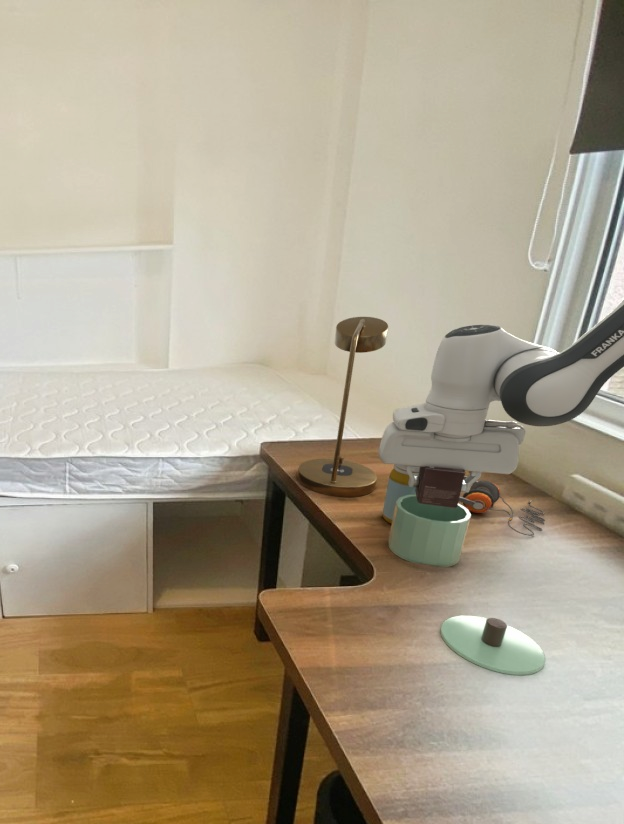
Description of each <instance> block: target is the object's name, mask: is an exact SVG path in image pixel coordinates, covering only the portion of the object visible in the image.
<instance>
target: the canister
mask: <svg viewBox="0 0 624 824" xmlns="http://www.w3.org/2000/svg"><path fill="white" fill-rule="evenodd" d="M471 519H472V514H471V511H470V510H468V509H467V508H465V506H464V505H463V504H460V502H458V506H457V508H449V507H442V506H434V505H426V504H419V503H418V501H417V496H416V495H406V496H403V497H400V498H399V499H398V500H397V501H396V505H395V510H394V515H393V520H392V524H390V525H391V526H390V530H389V536H388V540H387V542H388V548H389V549H390V551H391V552H392V553H393V554H394V555H396V556H397V557H399V558H400V559H403V560H404V561H407V562H409V563H413V564H420V565H428V566H434V567H441V568H449V567H453V566H455V565H457V564H458V563H459V562H460V559H461V557H462V553H463V550H464V546H465V542H466V538H467V535H468V530H469V526H470V522H471Z"/></svg>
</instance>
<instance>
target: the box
mask: <svg viewBox="0 0 624 824" xmlns="http://www.w3.org/2000/svg"><path fill="white" fill-rule="evenodd" d="M418 476H419V477H420V484H419V488H417V487H416V489H415V492H416V496H417V501H418V503H419V504H426V505H434V506H442V507H449V508H457V506H458V503H460V502H459V497H461V493H462V492H461V489H462V485H463V480H464V476H466V471H465V470H463V469H452V468H440V467H430V466H425V467H420V470H419V475H418Z"/></svg>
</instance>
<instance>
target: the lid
mask: <svg viewBox="0 0 624 824" xmlns="http://www.w3.org/2000/svg"><path fill="white" fill-rule="evenodd" d="M440 636H441V639H442V640H443V642H444V643H445V644H446V645H447V647H448V648H450V650H452V651H453V652H454V653H456V654H457V655H458V656H460V657H462V658H463V659H465V660H466V661H468V662H470V663H473V664H474V665H477V666H479V667H481V668H484V669H487V670H489V671H493V672H496V673H501V674H506V675H513V676H526V675H532V674H536V673H538V672H540V671H541V670H542V669H543V668H544V666H545V665H546V655H545V651H544V650H543V649H542V647H541V646H540V645H539V644H538V643H537V642H536V641H535V640H534V639H533V638H531V637H530V636H529V635H527V634H526V633H524V632H522V631H521V630H519V629H518V628H515V627H513V626H510V625H508V624H507V623H506V622H505V621H503V620H501V619H499V618H495V617H482V616H477V615H454V616H451V617H449V618H447V619H445V620H444V621H443V622H442V624H441V625H440Z"/></svg>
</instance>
